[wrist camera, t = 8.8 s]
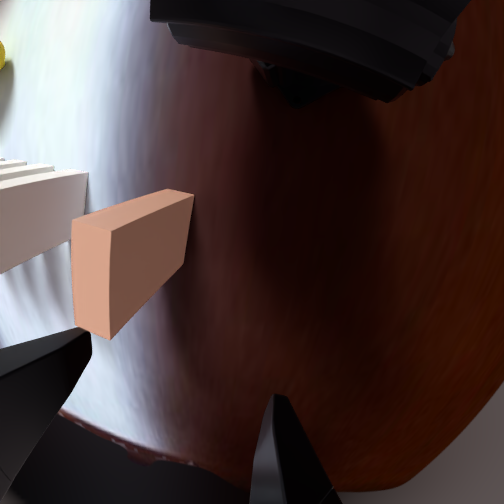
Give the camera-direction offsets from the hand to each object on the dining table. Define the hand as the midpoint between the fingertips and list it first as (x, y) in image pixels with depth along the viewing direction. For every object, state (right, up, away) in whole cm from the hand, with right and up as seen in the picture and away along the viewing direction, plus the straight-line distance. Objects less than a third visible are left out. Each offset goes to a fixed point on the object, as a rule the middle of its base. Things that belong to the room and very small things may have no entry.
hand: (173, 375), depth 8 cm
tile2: (-12, +7, +13) cm, 19 cm away
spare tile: (-3, +5, +13) cm, 14 cm away
